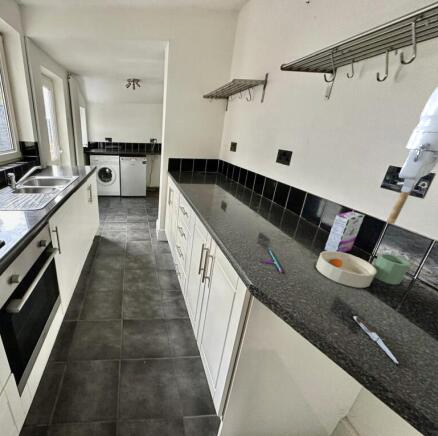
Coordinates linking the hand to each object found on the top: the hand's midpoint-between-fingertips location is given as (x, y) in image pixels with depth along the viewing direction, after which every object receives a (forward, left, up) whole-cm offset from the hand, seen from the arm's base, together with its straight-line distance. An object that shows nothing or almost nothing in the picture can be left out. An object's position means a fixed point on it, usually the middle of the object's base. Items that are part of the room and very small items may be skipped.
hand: (406, 191), depth 70 cm
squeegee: (+24, +22, -30) cm, 44 cm away
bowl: (+5, +8, -31) cm, 32 cm away
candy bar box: (+13, -12, -31) cm, 36 cm away
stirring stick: (0, 0, -11) cm, 10 cm away
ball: (+8, +5, -29) cm, 30 cm away
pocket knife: (-10, +34, -31) cm, 47 cm away
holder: (-4, -3, -31) cm, 31 cm away
